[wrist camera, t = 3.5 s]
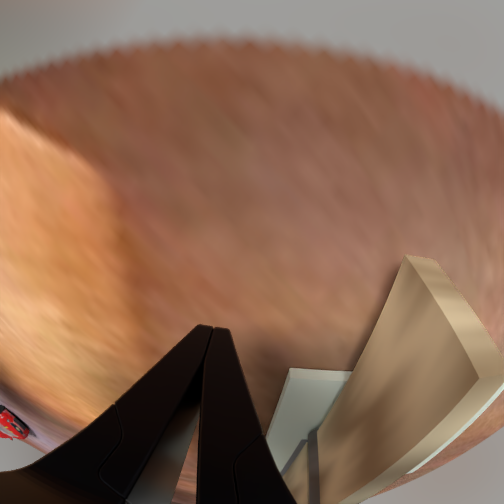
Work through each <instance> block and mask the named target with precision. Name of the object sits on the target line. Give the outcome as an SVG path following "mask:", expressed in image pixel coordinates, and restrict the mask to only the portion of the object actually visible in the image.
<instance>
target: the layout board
mask: <svg viewBox="0 0 504 504" xmlns="http://www.w3.org/2000/svg"><path fill="white" fill-rule="evenodd" d="M352 372H353V371H330V370H314V369H300V368H290V369H289V372H288V375H287V378H286V381H285V384H284V387H283V390H282V393H281V396H280V399H279V401H278V404H277V407H276V410H275V413H274V415H273V418H272V421H271V424H270V426H269V429H268V432H267V434H266V440H267V443H268V446H269V448H270V451H271V453H272V456H273V458H274V461H275V463H276V465H277V468H278V470H279V472H280V473H281V475H282V477H283V476H284V474H285V473H286V471H287V470H288V469H289V467H290V466H291V465H292V463H293V462H294V460H295V459H296V457H297V456H298V454H299V453H300V451H301V450H302V448H303V447H304V445H305V444H306V442H308V434H309V432H311V431H312V430H315V429H318V428H320V426H321V425H322V423H323V421H324V420H325V418H326V417H327V415H328V413H329V412H330V410H331V408H332V407H333V405H334V403H335V402H336V400H337V398H338V397H339V395H340V393H341V391H342V390H343V388H344V386H345V384H346V383H347V381H348V379H349V377H350V375H351V374H352ZM503 390H504V383H503V384H502V385H501V387H500V388H499V389H498V390H497V391H496V393H495V394H494V395H493V396H492V397H491V398H490V399H489V400H488V402H487V403H486V404H485V405H484V406H483V407H482V408H481V409H480V410H479V411H478V412H477V413H476V414H475V415H474V416H473V417H472V418H471V419H470V420H469V421H468V422H467V423H466V424H465V425H464V426H463V427H462V428H461V429H460V430H459V431H458V432H457V433H456V434H455V435H453V436H452V437H451V438H450V439H449V440H448V441H447V442H446V443H444V444H443V445H442V446H441V447H440V448H439V449H437V450H436V451H435V452H434V453H432V454H431V455H430V456H429V457H428V458H426V459H425V460H424V461H422V462H421V463H420V464H418V465H417V466H416V467H415V468H413V469H412V470H410V471H409V472H408V473H413V472H414V471H416V470H417V469H418V468H420V467H421V466H422V465H424V464H425V463H426V462H428V461H429V460H430V459H431V458H433V457H434V456H435V455H437V454H438V453H439V452H440V451H441V450H443V449H444V448H445V447H446V446H447V445H449V444H450V443H451V442H452V441H453V440H454V439H455V438H457V437H458V436H459V435H460V434H461V433H462V432H463V431H464V430H465V429H466V428H467V427H468V426H470V425H471V424H472V423H473V422H474V421H475V420H476V419H477V418H478V417H479V416H480V415H481V414H482V413H483V412H484V411H485V410H486V408H487V407H488V406H489V405H490V404H491V403H492V402H493V401H494V400H495V399H496V398H497V397H498V395H499V394H500V393H501V392H502V391H503ZM408 473H406V474H408Z"/></svg>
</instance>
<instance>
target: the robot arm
mask: <svg viewBox="0 0 504 504" xmlns="http://www.w3.org/2000/svg"><path fill="white" fill-rule="evenodd" d="M199 414H200V420H199V439H198V461H197V490H196V504H297V502H296V500H295V499H294V497H293V495H292V494H291V492H290V490H289V489H288V487H287V485H286V483H285V481H284V479H283V477H282V475H281V473H280V472H279V470H278V468H277V465H276V463H275V461H274V458H273V456H272V453H271V451H270V448H269V446H268V443H267V440H266V437H265V435H264V434H263V430H262V427H261V424H260V421H259V418H258V415H257V412H256V409H255V406H254V403H253V400H252V398H251V395H250V392H249V389H248V385H247V382H246V379H245V376H244V373H243V370H242V367H241V364H240V361H239V358H238V355H237V351H236V348H235V345H234V342H233V339H232V335H231V332H230V330H229V329H227V328H221V327H215V328H214V329H213V327H212V326H208V325H202V324H199V325H197V326H196V327H195V328H194V329H192V330H191V331H190V332H189V333H188V334H187V335H186V336H185V337H184V338H183V339H182V340H181V341H180V342H179V343H178V344H177V345H176V346H174V347H173V348H172V349H171V350H170V351H169V352H168V353H167V354H166V355H165V356H164V357H163V358H162V359H161V360H160V361H159V362H157V363H156V364H155V365H154V366H153V367H152V368H151V369H150V370H149V371H148V372H147V373H146V374H145V375H144V376H142V377H141V378H140V379H139V380H138V381H137V382H136V383H135V384H134V385H133V386H132V387H131V388H130V389H128V390H127V391H126V392H125V393H124V394H123V395H122V396H121V397H120V398H119V399H118V400H116V401H115V405H114V404H112V405H111V406H110V407H109V408H108V409H107V410H105V411H104V412H103V413H102V414H101V415H100V416H99V417H97V418H96V419H95V420H94V421H93V422H92V423H90V424H89V425H88V426H87V427H85V428H84V429H83V430H81V431H80V432H79V433H77V434H76V435H74V436H73V437H72V438H70V439H69V440H67V441H66V442H64V443H63V444H61V445H60V446H58V447H57V448H55V449H54V450H52V451H51V452H49V453H48V454H46V455H45V456H43V457H42V458H40V459H39V460H37V461H35V462H34V463H32V464H30V465H28V466H26V467H23V468H20V469H16V470H11V471H4V472H0V504H171V501H172V498H173V495H174V492H175V489H176V485H177V482H178V479H179V476H180V473H181V470H182V467H183V464H184V461H185V458H186V455H187V452H188V448H189V445H190V442H191V439H192V436H193V433H194V430H195V427H196V424H197V421H198V418H199Z"/></svg>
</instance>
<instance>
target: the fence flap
mask: <svg viewBox="0 0 504 504" xmlns="http://www.w3.org/2000/svg"><path fill="white" fill-rule="evenodd" d="M503 383H504V358H503V357H502V355H501V353H500V351H499V350H498V348H497V347H496V345H495V343H494V342H493V340H492V339H491V337H490V335H489V334H488V332H487V331H486V329H485V328H484V326H483V325H482V323H481V322H480V320H479V319H478V317H477V316H476V314H475V313H474V311H473V310H472V309H471V307H470V306H469V304H468V303H467V301H466V300H465V299H464V297H463V296H462V295H461V293H460V292H459V291H458V289H457V288H456V287H455V285H454V284H453V283H452V281H451V280H450V279H449V277H448V276H447V275H446V274H445V272H444V271H443V270H442V268H441V267H440V266H439V265H438V263H437V262H436V261H435V260H434V259H429V258H423V257H417V256H411V255H404V258H403V261H402V264H401V266H400V269H399V271H398V274H397V277H396V279H395V282H394V284H393V287H392V289H391V291H390V294H389V296H388V299H387V301H386V303H385V306H384V308H383V310H382V312H381V315H380V317H379V319H378V321H377V324H376V326H375V328H374V330H373V332H372V334H371V336H370V338H369V340H368V342H367V344H366V347H365V349H364V351H363V352H362V354H361V356H360V358H359V360H358V362H357V364H356V366H355V368H354V370H353V372H352V374H351V375H350V377H349V379H348V381H347V383H346V384H345V386H344V388H343V390H342V391H341V393H340V395H339V397H338V398H337V400H336V402H335V403H334V405H333V407H332V408H331V410H330V412H329V413H328V415H327V417H326V418H325V420H324V421H323V423H322V425H321V426H320V428H318V429H315V430H312V431H311V432H309V434H308V459H309V504H359V503H361V502H363V501H364V500H366V499H368V498H369V497H371V496H373V495H374V494H376V493H378V492H379V491H381V490H383V489H384V488H386V487H387V486H389V485H390V484H392V483H393V482H395V481H396V480H398V479H399V478H401V477H402V476H403V475H405V474H406V473H408V472H409V471H410V470H412V469H413V468H415V467H416V466H417V465H418V464H420V463H421V462H422V461H424V460H425V459H426V458H428V457H429V456H430V455H431V454H432V453H434V452H435V451H436V450H437V449H439V448H440V447H441V446H442V445H443V444H444V443H446V442H447V441H448V440H449V439H450V438H451V437H452V436H453V435H455V434H456V433H457V432H458V431H459V430H460V429H461V428H462V427H463V426H464V425H465V424H466V423H467V422H468V421H469V420H470V419H471V418H472V417H473V416H474V415H475V414H476V413H477V412H478V411H479V410H480V409H481V408H482V407H483V406H484V405H485V404H486V403H487V402H488V400H489V399H490V398H491V397H492V396H493V395H494V394H495V393H496V391H497V390H498V389H499V388H500V387H501V385H502V384H503Z"/></svg>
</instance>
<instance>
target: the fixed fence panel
mask: <svg viewBox="0 0 504 504" xmlns="http://www.w3.org/2000/svg"><path fill="white" fill-rule="evenodd" d="M283 479H284V481H285V483H286V485H287V487H288V489H289V490H290V492H291V494H292V495H293V497H294V499H295V500H296V502H297V504H309V459H308V442H306V444H305V445H304V447H303V448H302V450H301V451H300V453H299V454H298V456H297V457H296V459H295V460H294V462H293V463H292V465H291V466H290V467H289V469H288V470H287V471H286V473H285V474H284V476H283Z"/></svg>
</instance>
